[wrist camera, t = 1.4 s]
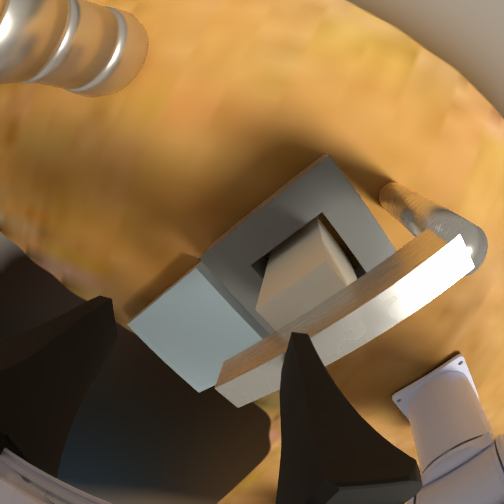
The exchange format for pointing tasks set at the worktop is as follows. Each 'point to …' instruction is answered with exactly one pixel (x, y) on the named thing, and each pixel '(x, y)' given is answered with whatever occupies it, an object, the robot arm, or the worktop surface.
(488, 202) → the worktop surface
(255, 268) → the socket block
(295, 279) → the plug
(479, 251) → the grey piece
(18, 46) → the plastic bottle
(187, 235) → the worktop surface
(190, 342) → the tile
